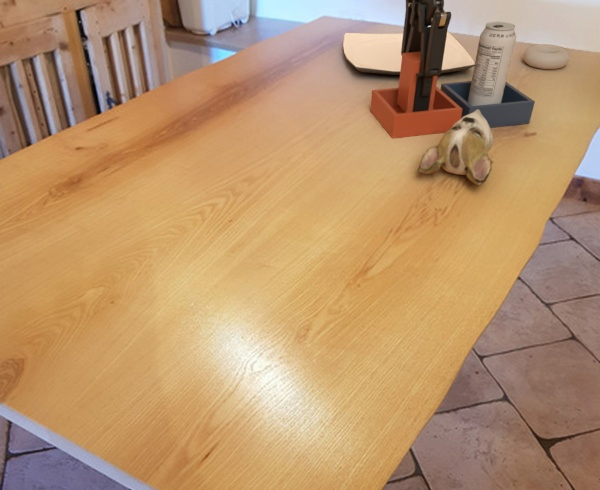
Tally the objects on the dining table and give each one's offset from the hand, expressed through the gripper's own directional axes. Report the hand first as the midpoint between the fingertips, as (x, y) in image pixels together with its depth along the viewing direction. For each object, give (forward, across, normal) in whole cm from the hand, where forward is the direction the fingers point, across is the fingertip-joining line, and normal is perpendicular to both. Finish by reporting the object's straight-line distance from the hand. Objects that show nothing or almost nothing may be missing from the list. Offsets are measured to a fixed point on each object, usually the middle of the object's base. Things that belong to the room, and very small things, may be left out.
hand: (414, 105), depth 101 cm
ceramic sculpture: (+3, +20, 0) cm, 20 cm away
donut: (+3, -23, +41) cm, 47 cm away
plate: (+3, -34, +11) cm, 36 cm away
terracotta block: (0, 0, 0) cm, 0 cm away
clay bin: (+3, 0, 0) cm, 3 cm away
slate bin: (+3, 0, +14) cm, 14 cm away
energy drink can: (+2, 0, +14) cm, 14 cm away
